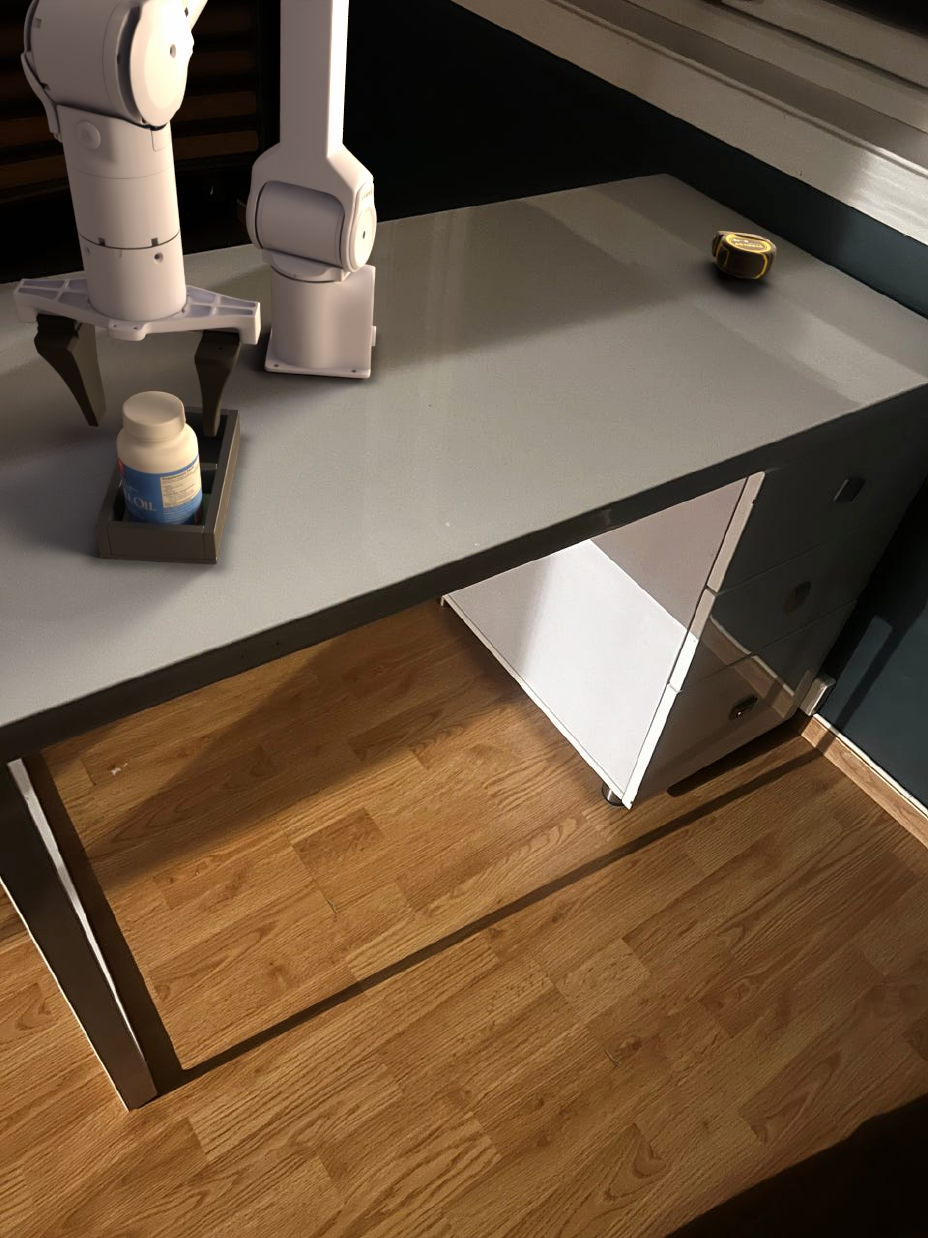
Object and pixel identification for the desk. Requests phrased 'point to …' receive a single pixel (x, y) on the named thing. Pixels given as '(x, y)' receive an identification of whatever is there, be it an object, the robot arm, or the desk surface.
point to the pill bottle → (159, 461)
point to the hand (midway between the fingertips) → (155, 423)
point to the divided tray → (173, 539)
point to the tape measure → (743, 254)
